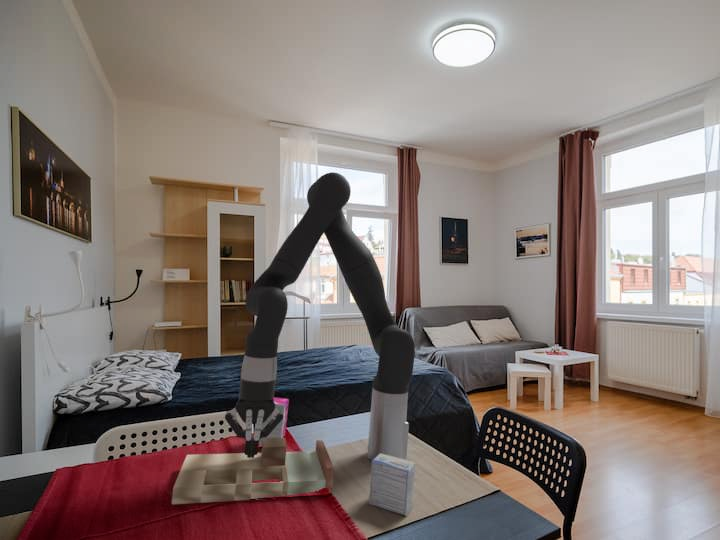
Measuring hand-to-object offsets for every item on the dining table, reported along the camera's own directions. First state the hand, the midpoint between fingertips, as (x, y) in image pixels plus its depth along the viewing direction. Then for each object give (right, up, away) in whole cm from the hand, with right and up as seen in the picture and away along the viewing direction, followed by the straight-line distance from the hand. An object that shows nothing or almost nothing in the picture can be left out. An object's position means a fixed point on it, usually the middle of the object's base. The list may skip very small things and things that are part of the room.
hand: (250, 456), depth 83 cm
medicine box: (+30, -6, -8) cm, 32 cm away
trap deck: (+2, -4, -3) cm, 5 cm away
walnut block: (+5, -1, +1) cm, 5 cm away
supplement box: (+1, -5, +17) cm, 18 cm away
